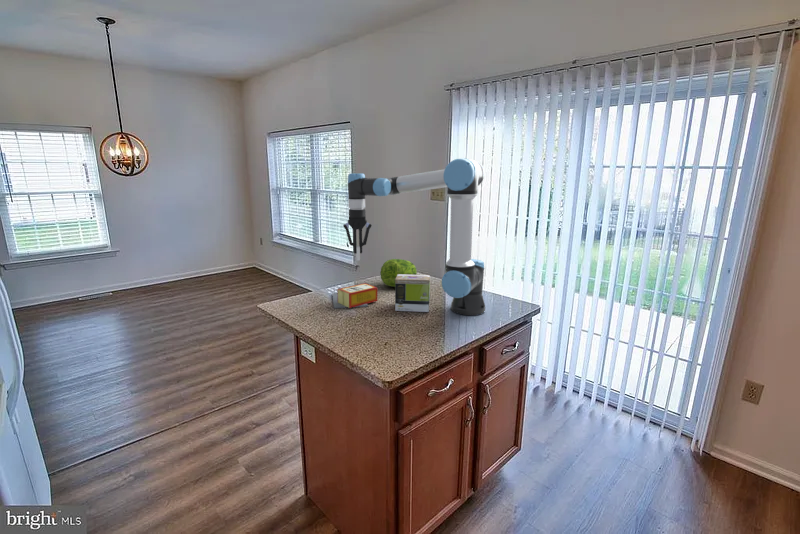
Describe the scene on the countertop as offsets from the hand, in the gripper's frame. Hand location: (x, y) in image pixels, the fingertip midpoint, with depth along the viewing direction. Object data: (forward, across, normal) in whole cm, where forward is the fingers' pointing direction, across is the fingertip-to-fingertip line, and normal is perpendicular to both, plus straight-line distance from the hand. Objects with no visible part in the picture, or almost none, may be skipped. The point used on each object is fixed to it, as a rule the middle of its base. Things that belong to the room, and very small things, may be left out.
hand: (358, 260), depth 181 cm
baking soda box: (+15, -6, 0) cm, 16 cm away
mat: (+19, +5, 0) cm, 20 cm away
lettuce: (+20, -24, -22) cm, 38 cm away
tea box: (+20, -22, +14) cm, 33 cm away
